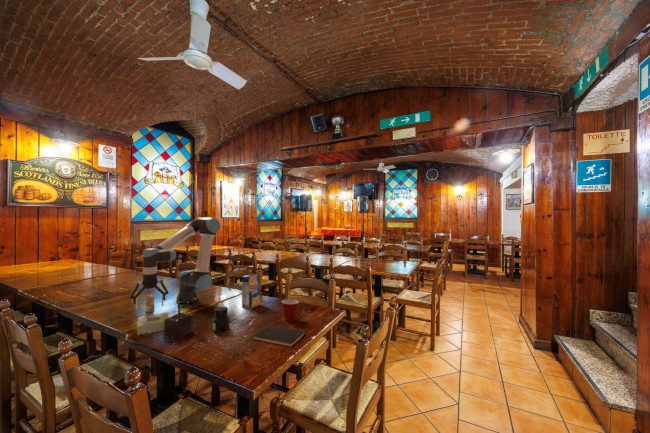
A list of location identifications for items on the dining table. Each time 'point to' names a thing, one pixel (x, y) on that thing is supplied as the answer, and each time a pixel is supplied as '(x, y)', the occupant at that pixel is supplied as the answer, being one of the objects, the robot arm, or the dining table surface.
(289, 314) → the plastic cup
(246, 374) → the dining table surface
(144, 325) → the board
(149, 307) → the peg
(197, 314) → the dining table surface
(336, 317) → the dining table surface
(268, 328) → the hardcover book
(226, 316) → the ink bottle
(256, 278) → the blue yellow cereal box
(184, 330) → the dark boxy piece
